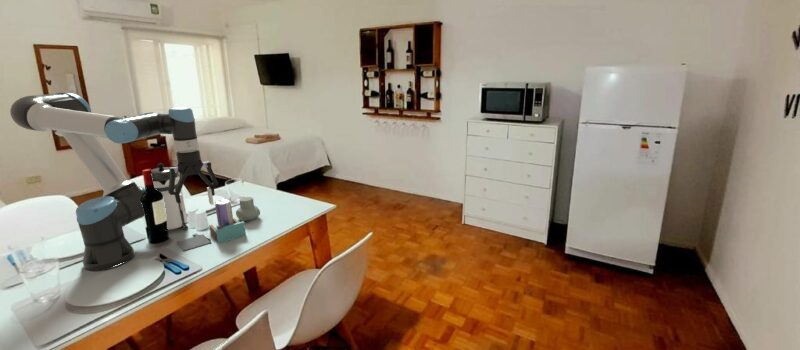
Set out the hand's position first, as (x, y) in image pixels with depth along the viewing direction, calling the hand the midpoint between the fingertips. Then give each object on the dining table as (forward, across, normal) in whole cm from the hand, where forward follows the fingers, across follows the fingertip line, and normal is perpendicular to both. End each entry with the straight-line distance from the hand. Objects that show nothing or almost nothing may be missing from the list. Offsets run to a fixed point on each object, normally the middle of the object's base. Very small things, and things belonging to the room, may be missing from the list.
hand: (197, 207), depth 142 cm
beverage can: (+18, +11, +6) cm, 22 cm away
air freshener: (+18, +24, +16) cm, 34 cm away
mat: (+18, -2, +8) cm, 19 cm away
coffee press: (+18, -5, +30) cm, 36 cm away
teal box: (+18, +11, +1) cm, 21 cm away
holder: (+18, +11, +6) cm, 22 cm away
